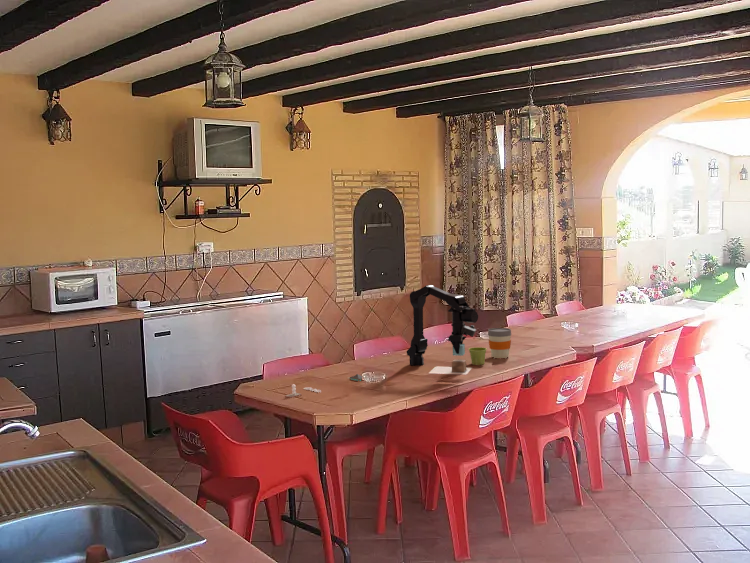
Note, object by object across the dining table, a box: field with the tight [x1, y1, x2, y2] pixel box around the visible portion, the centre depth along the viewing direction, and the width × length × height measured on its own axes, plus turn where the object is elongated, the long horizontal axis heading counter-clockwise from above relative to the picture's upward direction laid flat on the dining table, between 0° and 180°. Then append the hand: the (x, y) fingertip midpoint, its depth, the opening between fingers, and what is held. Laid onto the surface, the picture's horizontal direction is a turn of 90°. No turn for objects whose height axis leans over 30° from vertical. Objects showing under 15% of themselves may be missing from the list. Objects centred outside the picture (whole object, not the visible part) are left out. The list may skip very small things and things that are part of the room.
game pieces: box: [284, 373, 363, 399], centre depth 357 cm, size 45×13×6 cm, turn 132°
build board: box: [428, 365, 473, 376], centre depth 379 cm, size 19×16×1 cm
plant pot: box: [467, 346, 488, 366], centre depth 393 cm, size 9×9×9 cm
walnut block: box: [451, 359, 467, 372], centre depth 377 cm, size 6×6×5 cm
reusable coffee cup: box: [487, 327, 512, 359], centre depth 412 cm, size 13×13×15 cm
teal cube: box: [452, 343, 466, 357], centre depth 376 cm, size 5×5×5 cm
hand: (458, 352), depth 376 cm, fingers closed on teal cube, 5 cm apart
